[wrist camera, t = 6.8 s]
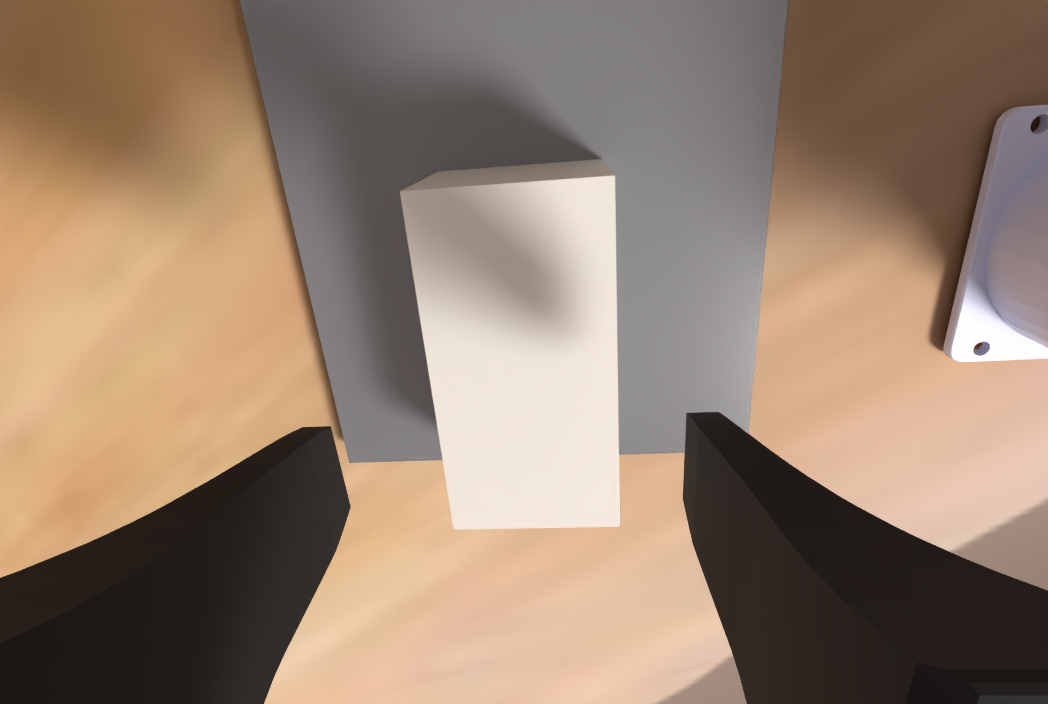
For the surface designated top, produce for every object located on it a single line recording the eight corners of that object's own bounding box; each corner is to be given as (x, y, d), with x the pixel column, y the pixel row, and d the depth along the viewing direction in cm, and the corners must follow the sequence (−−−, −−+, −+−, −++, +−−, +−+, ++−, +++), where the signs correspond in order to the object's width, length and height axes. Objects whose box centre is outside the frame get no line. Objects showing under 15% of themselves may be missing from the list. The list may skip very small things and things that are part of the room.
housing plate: (819, -526, 12) (853, -609, 11) (738, 436, 21) (750, 458, 20) (162, -410, 13) (116, -469, 12) (357, 448, 23) (344, 470, 21)
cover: (602, 159, 17) (614, 175, 13) (608, 443, 21) (619, 526, 17) (438, 171, 17) (399, 191, 13) (474, 447, 21) (453, 529, 17)
